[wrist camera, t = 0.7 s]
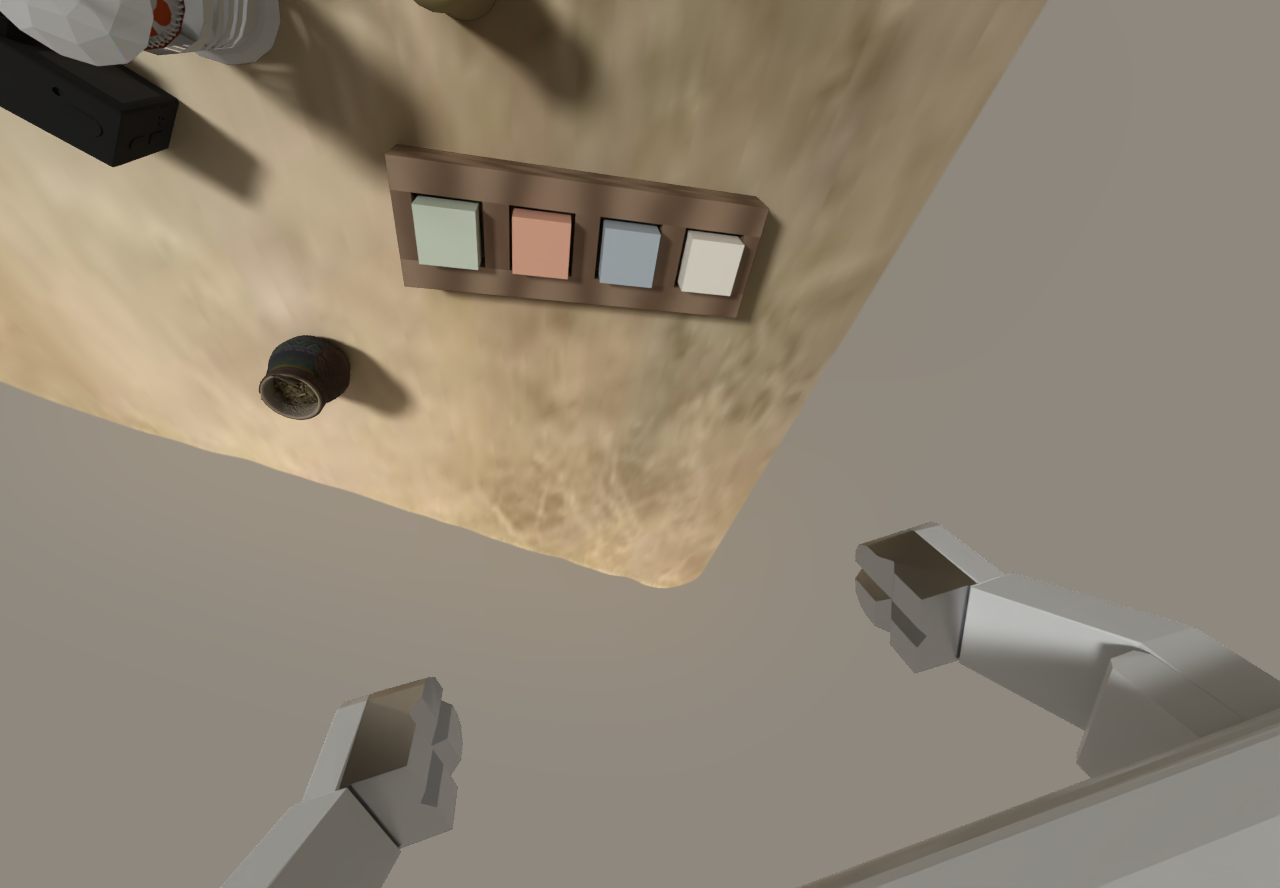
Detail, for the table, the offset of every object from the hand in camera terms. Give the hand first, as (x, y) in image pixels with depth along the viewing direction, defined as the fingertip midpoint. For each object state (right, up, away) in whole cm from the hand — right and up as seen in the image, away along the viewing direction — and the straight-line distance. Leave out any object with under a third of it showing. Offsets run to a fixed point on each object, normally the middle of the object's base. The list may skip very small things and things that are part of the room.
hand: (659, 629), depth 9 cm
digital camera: (-42, +32, +28) cm, 60 cm away
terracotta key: (-9, +23, +37) cm, 44 cm away
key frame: (-6, +24, +40) cm, 47 cm away
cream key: (+6, +22, +40) cm, 46 cm away
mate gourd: (-36, +13, +45) cm, 59 cm away
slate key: (-2, +22, +38) cm, 44 cm away
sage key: (-17, +23, +35) cm, 45 cm away
